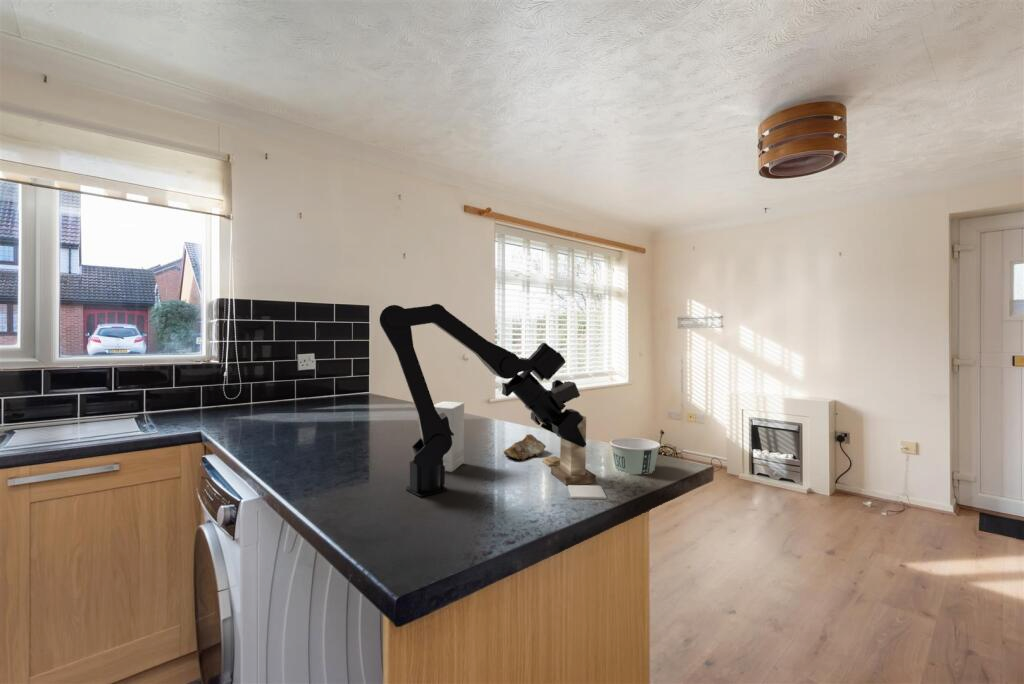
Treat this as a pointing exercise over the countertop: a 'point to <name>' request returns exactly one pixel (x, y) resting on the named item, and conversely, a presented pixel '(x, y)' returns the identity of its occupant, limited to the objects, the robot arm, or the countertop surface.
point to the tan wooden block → (573, 454)
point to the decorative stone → (525, 448)
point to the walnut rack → (573, 477)
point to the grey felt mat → (586, 492)
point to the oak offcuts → (552, 461)
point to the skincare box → (457, 427)
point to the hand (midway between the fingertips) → (578, 442)
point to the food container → (634, 455)
